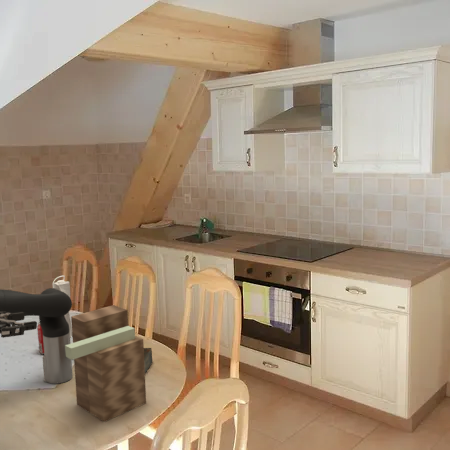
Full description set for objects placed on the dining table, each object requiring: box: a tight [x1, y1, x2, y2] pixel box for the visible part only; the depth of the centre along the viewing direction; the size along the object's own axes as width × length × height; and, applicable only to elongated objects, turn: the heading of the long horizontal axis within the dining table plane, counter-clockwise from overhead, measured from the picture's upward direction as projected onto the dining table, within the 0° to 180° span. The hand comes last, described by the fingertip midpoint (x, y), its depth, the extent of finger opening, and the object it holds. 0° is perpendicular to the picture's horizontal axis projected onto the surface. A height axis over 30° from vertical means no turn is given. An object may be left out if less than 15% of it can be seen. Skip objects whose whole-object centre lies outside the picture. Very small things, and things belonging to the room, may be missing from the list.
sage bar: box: [65, 325, 136, 361], centre depth 162 cm, size 22×4×4 cm, turn 136°
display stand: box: [70, 304, 147, 422], centre depth 170 cm, size 16×16×30 cm
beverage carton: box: [144, 347, 153, 374], centre depth 195 cm, size 8×19×7 cm, turn 172°
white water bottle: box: [52, 275, 72, 339], centre depth 229 cm, size 8×8×28 cm
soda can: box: [36, 321, 44, 355], centre depth 215 cm, size 7×7×13 cm
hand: (30, 320), depth 151 cm, fingers open, 8 cm apart
